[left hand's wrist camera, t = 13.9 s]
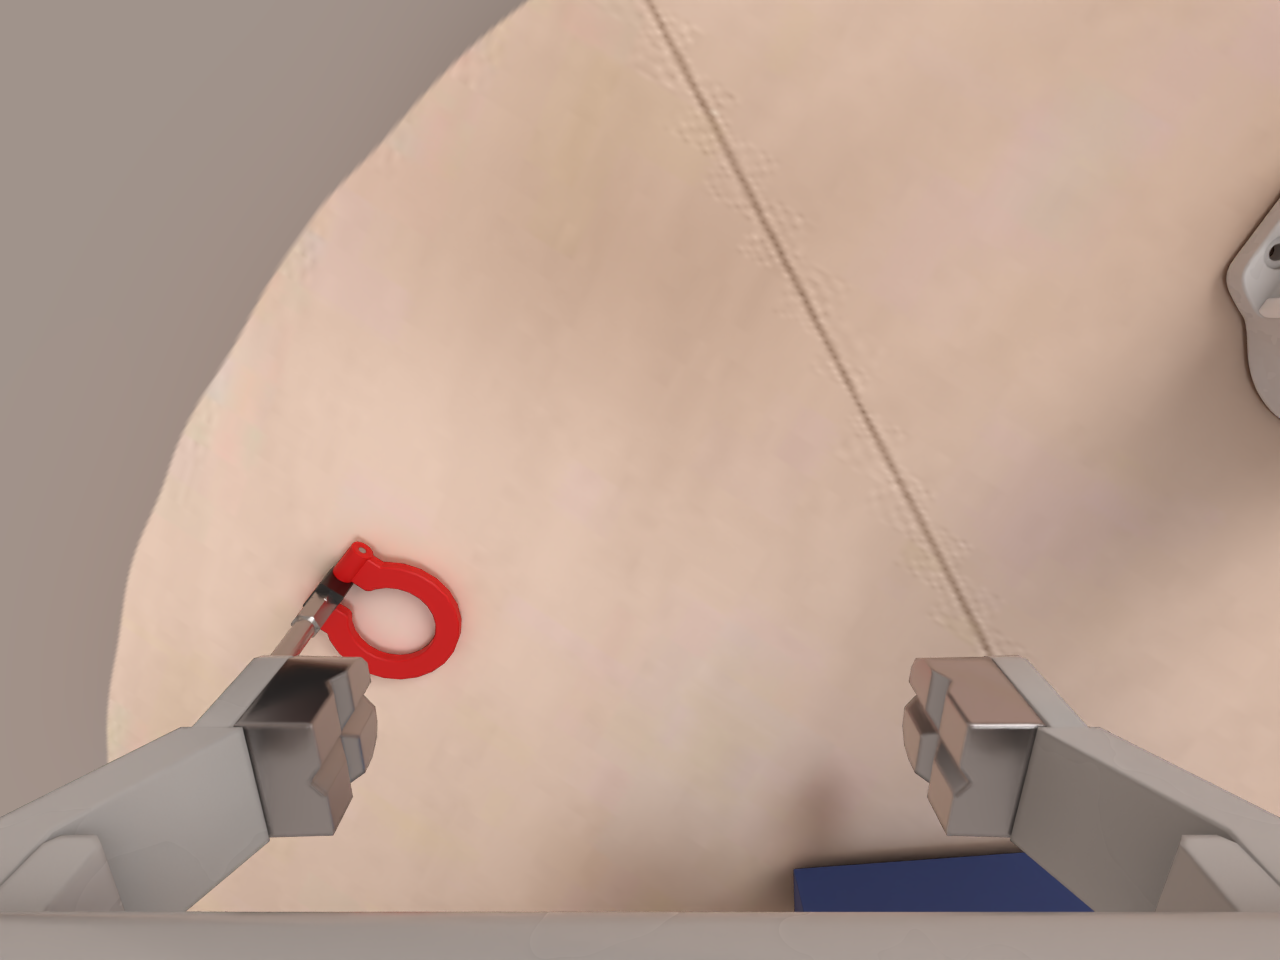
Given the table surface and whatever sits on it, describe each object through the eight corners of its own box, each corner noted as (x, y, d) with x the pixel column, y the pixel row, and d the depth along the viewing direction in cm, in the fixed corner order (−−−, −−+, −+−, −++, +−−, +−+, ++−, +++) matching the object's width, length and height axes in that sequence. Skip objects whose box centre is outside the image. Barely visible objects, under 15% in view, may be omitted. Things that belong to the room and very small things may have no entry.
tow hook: (488, 607, 45) (364, 526, 42) (442, 757, 33) (265, 655, 30) (416, 689, 47) (294, 616, 45) (348, 857, 35) (176, 770, 33)
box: (1179, 840, 50) (1312, 993, 40) (1165, 900, 52) (1289, 1060, 42) (793, 868, 51) (830, 1024, 41) (794, 926, 53) (830, 1088, 43)
